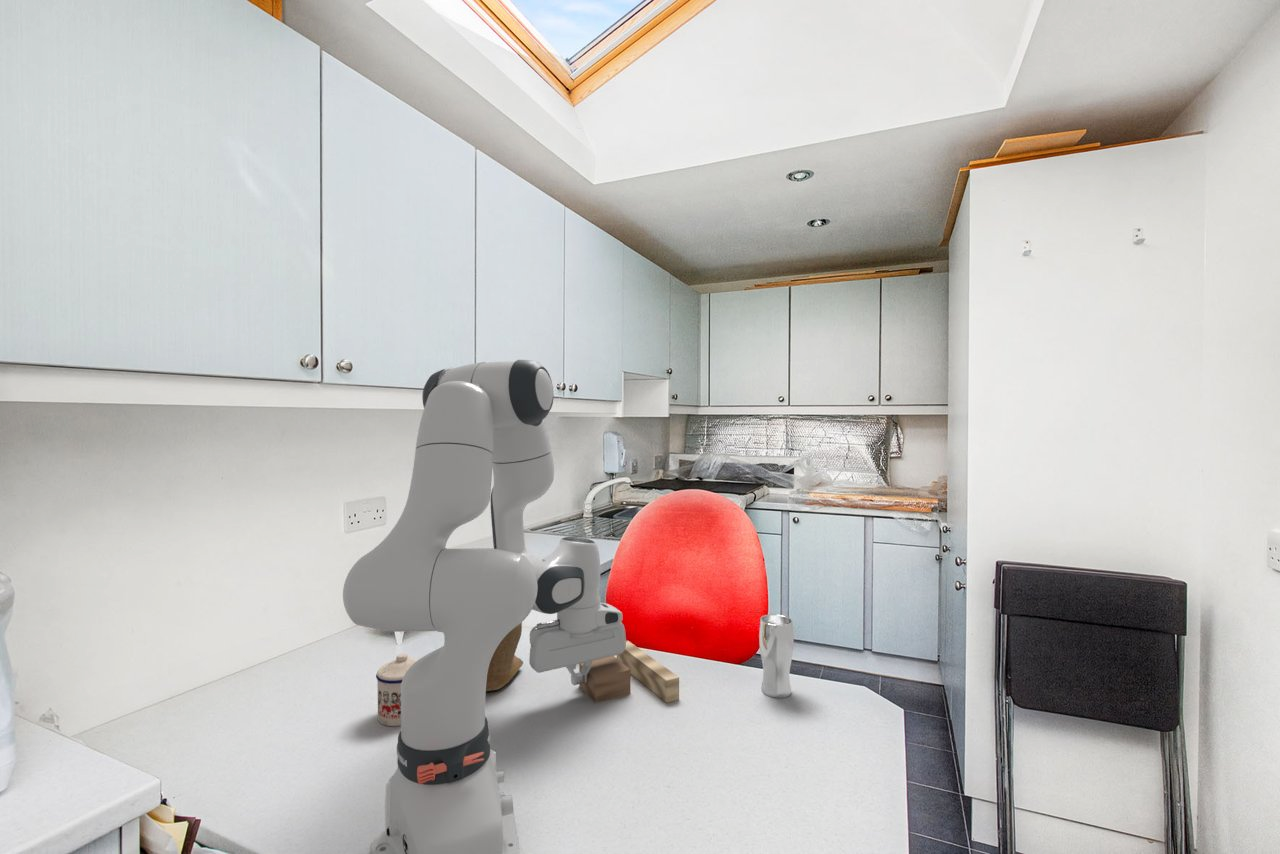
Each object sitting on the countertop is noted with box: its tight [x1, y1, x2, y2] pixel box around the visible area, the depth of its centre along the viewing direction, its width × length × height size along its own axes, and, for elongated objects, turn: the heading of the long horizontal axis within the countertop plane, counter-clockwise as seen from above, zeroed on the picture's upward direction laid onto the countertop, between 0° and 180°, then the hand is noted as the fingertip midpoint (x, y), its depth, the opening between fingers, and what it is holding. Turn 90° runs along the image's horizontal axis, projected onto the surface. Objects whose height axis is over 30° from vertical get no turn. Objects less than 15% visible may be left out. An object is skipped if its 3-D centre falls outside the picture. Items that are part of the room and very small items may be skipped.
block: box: [578, 656, 631, 704], centre depth 121 cm, size 8×8×5 cm
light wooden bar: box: [616, 640, 680, 704], centre depth 126 cm, size 22×3×4 cm, turn 29°
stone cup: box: [486, 622, 524, 692], centre depth 126 cm, size 15×12×15 cm
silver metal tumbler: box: [758, 613, 795, 699], centre depth 120 cm, size 7×7×15 cm
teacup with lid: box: [375, 653, 420, 727], centre depth 111 cm, size 12×9×12 cm
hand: (579, 683), depth 119 cm, fingers closed
